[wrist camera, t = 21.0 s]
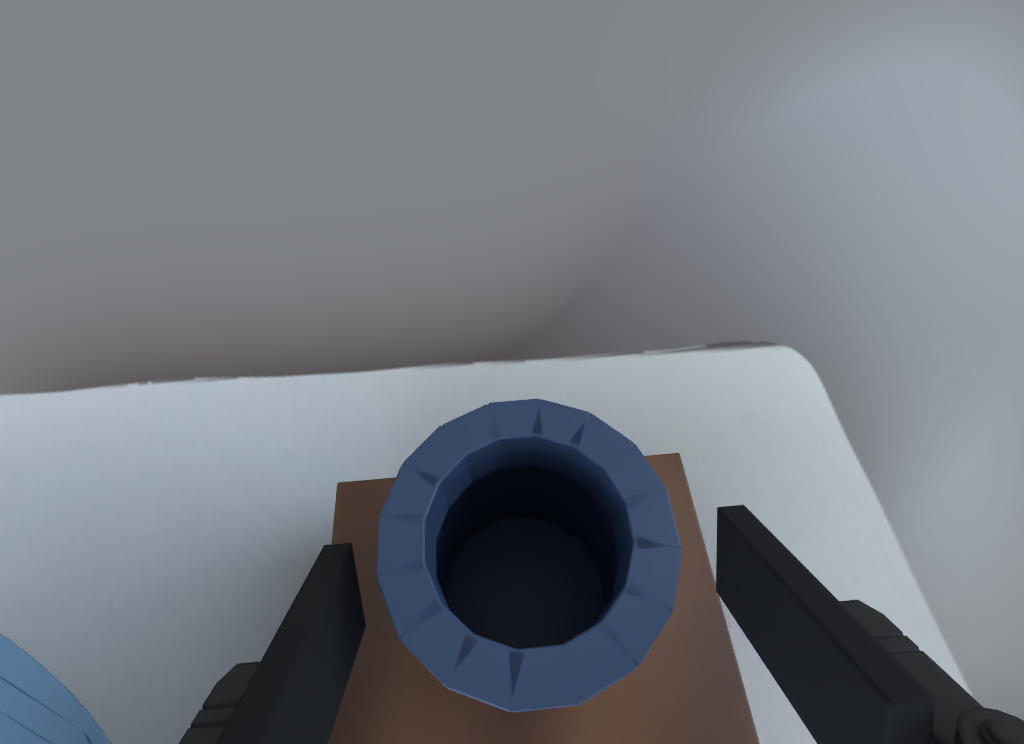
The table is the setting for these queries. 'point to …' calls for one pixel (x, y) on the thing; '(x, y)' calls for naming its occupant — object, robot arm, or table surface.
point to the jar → (528, 555)
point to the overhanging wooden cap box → (557, 731)
